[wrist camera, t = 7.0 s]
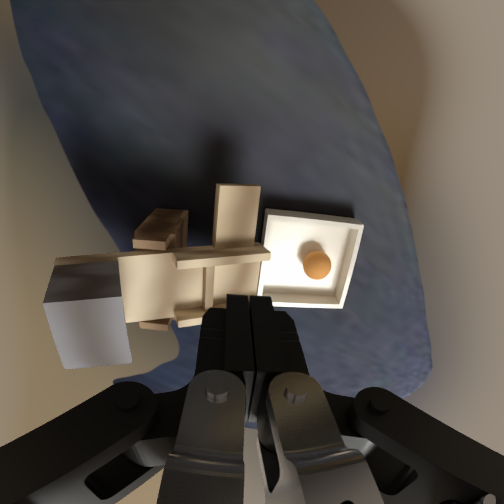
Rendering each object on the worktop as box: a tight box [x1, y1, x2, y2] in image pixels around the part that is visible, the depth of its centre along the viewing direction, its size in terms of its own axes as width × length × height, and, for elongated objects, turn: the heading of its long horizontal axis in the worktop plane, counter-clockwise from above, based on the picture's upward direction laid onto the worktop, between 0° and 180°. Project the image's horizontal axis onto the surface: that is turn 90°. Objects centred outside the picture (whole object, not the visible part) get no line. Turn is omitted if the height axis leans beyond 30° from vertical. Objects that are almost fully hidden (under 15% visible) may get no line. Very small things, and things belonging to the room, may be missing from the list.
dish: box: [256, 208, 364, 308], centre depth 36 cm, size 12×12×3 cm
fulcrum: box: [133, 208, 188, 331], centre depth 31 cm, size 4×10×10 cm, turn 174°
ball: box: [303, 251, 331, 280], centre depth 35 cm, size 4×4×4 cm
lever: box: [43, 184, 271, 369], centre depth 23 cm, size 20×13×7 cm, turn 84°
